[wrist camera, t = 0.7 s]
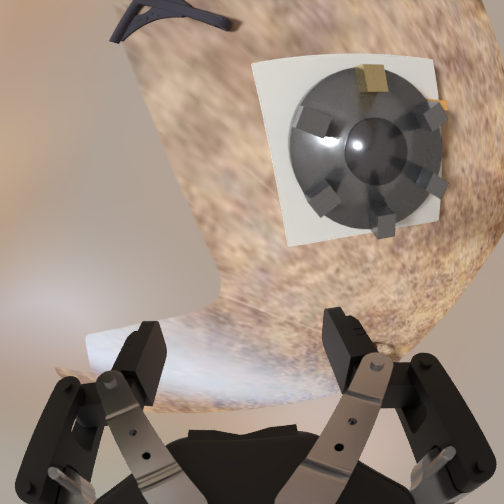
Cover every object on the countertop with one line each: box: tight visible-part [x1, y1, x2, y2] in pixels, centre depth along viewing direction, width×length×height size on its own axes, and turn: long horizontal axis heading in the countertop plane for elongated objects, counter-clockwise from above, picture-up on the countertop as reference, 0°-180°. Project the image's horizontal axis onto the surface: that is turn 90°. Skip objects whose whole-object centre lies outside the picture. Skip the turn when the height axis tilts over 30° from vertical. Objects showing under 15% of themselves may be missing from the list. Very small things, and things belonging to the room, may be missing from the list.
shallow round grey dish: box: [288, 64, 449, 239], centre depth 27 cm, size 20×20×5 cm
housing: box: [251, 54, 448, 247], centre depth 29 cm, size 24×24×7 cm
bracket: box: [109, 0, 233, 44], centre depth 22 cm, size 14×15×3 cm
